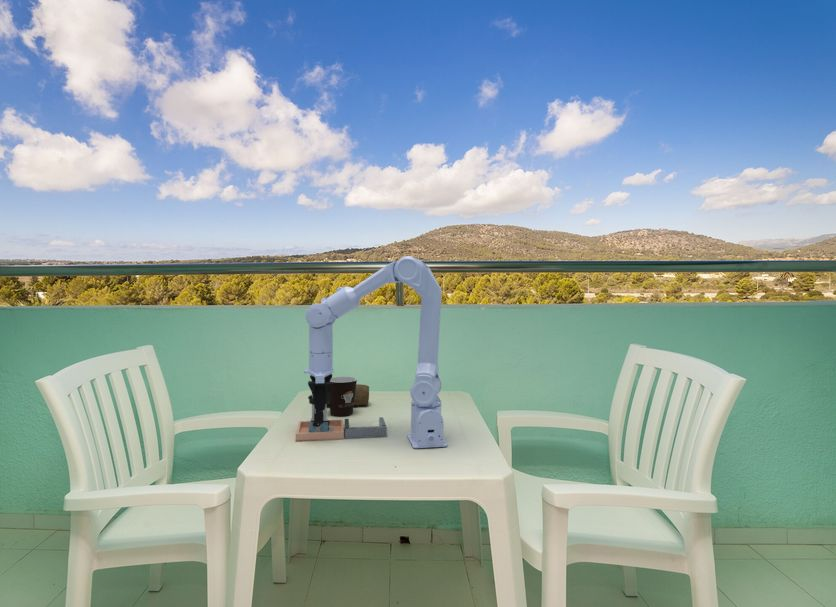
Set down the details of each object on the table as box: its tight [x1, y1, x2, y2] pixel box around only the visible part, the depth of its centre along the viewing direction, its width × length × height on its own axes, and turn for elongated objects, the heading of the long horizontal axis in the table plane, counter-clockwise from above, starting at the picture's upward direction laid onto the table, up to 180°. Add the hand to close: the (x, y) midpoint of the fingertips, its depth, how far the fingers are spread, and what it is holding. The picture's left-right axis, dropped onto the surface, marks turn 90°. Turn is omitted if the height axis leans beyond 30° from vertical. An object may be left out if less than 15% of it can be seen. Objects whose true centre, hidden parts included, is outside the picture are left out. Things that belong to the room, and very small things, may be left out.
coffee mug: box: [327, 376, 358, 418], centre depth 129 cm, size 12×9×10 cm
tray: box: [295, 419, 345, 442], centre depth 111 cm, size 10×11×2 cm
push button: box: [307, 394, 335, 432], centre depth 111 cm, size 7×5×10 cm
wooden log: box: [327, 383, 370, 407], centre depth 138 cm, size 15×7×7 cm, turn 100°
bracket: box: [343, 416, 388, 440], centre depth 113 cm, size 8×10×2 cm
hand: (320, 406), depth 111 cm, fingers open, 7 cm apart
